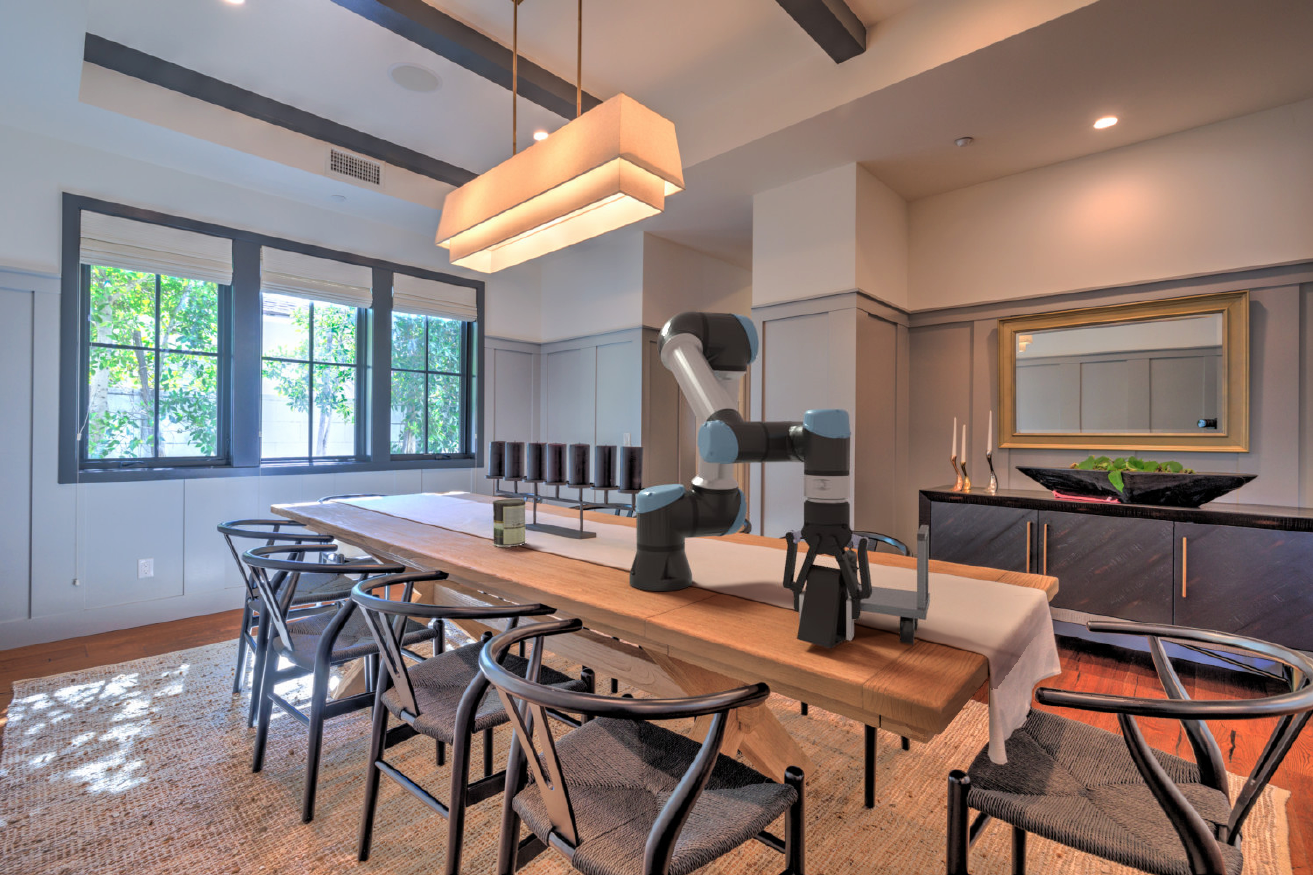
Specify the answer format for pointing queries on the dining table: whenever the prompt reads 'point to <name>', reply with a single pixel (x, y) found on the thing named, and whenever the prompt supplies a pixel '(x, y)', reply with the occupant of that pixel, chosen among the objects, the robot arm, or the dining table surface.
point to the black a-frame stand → (824, 607)
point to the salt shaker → (853, 562)
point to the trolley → (905, 594)
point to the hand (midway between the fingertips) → (826, 633)
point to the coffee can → (509, 522)
